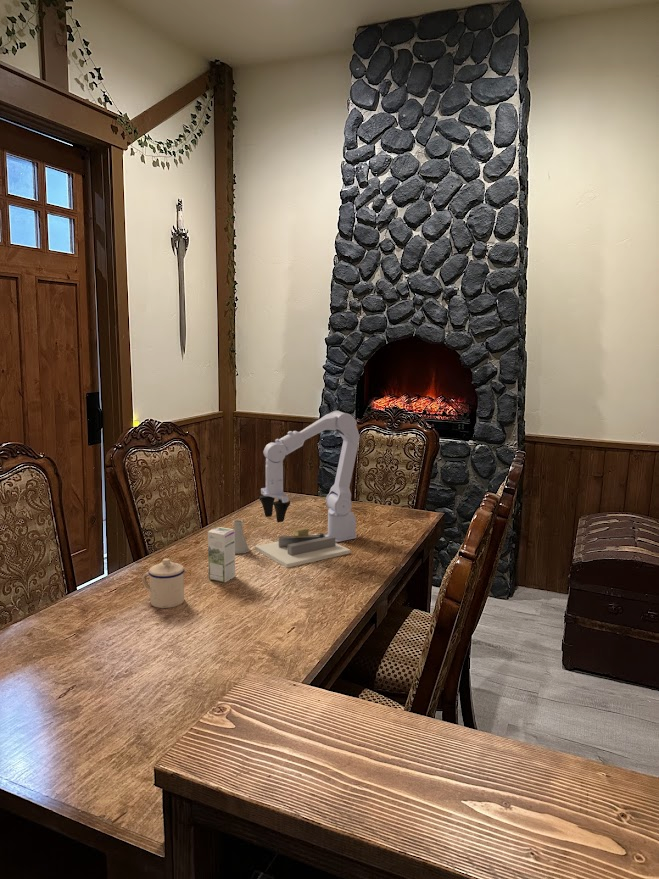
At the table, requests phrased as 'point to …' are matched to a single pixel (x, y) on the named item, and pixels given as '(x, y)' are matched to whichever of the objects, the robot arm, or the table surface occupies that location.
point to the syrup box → (221, 554)
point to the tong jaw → (296, 539)
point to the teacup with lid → (165, 584)
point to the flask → (239, 538)
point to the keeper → (300, 531)
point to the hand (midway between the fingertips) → (274, 519)
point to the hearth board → (301, 557)
